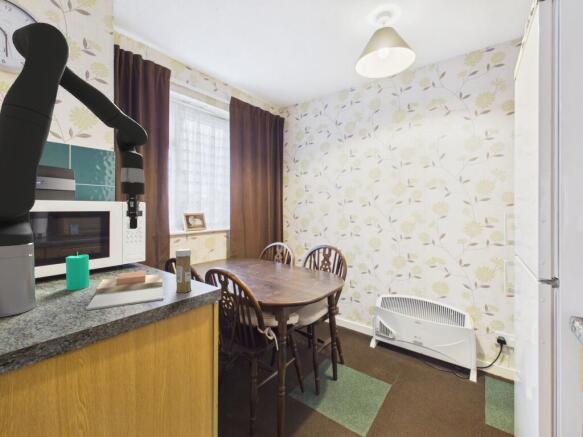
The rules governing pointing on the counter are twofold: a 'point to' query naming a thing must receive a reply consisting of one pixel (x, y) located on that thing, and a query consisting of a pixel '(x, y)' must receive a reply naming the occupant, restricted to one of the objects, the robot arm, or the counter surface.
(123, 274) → the tile
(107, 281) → the deck
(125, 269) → the counter surface
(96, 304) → the mat
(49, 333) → the counter surface
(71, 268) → the candle
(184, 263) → the sprinkles bottle
